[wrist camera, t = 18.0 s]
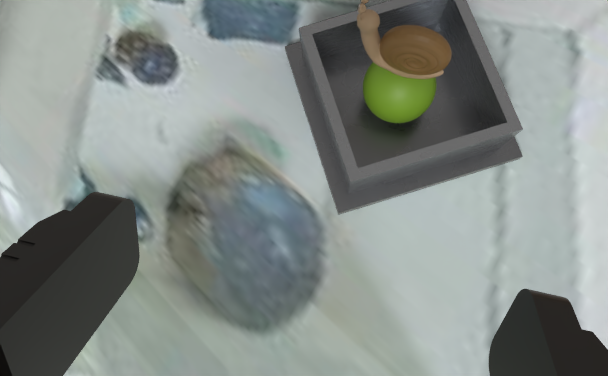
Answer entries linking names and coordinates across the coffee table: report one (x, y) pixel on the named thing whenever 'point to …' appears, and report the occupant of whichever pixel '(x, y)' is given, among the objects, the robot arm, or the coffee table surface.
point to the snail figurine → (400, 67)
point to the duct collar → (410, 135)
